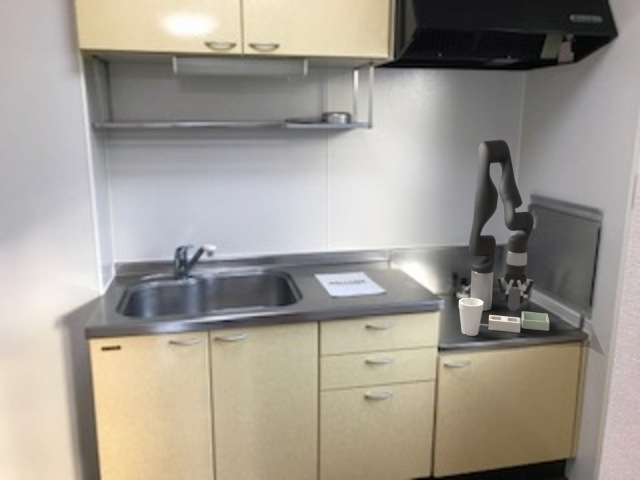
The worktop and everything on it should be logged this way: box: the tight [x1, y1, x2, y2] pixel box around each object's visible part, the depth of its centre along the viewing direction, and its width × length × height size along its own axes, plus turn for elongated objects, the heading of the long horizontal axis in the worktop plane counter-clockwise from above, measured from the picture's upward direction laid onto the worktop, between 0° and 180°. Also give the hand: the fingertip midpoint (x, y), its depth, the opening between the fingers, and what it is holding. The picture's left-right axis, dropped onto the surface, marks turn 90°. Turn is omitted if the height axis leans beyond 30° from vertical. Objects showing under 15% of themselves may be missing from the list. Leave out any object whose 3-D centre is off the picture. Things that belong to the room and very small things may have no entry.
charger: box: [507, 287, 521, 312], centre depth 214 cm, size 6×4×9 cm
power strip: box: [479, 314, 522, 334], centre depth 218 cm, size 6×18×4 cm, turn 72°
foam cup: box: [458, 297, 483, 337], centre depth 213 cm, size 10×9×13 cm
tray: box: [520, 311, 550, 332], centre depth 220 cm, size 10×10×4 cm
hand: (513, 302), depth 214 cm, fingers closed on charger, 4 cm apart
